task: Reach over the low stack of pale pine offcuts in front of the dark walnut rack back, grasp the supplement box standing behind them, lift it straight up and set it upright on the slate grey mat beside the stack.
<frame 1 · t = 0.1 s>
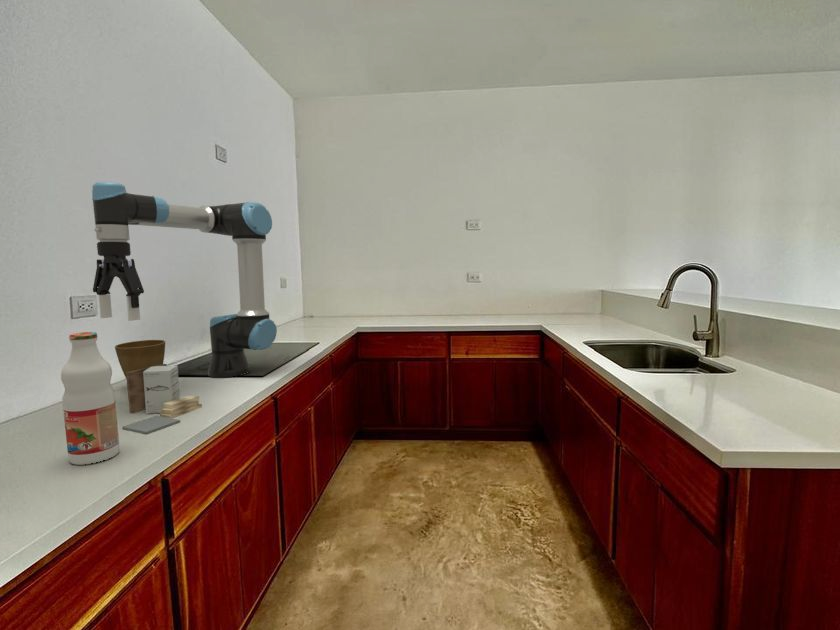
hand: (120, 319, 127), 28 cm above the worktop, tool pointing down, fingers open, 13 cm apart
supplement box: (163, 410, 136), on the worktop
fruit juice: (95, 457, 103), on the worktop
slate mat: (151, 425, 122), on the worktop
walnut rack: (150, 407, 138), on the worktop
pine offcuts: (181, 413, 133), on the worktop
plant pot: (144, 389, 159), on the worktop
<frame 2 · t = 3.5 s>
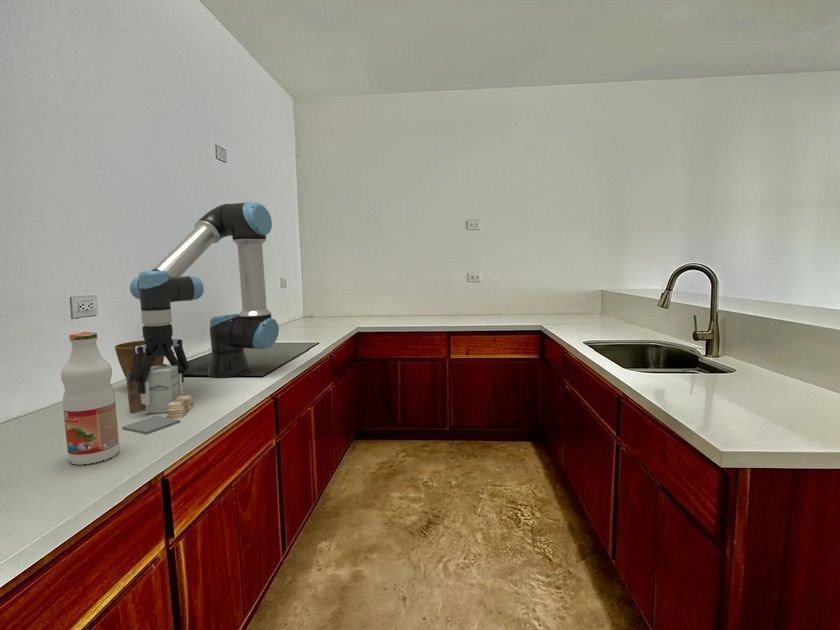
hand: (162, 399, 135), 3 cm above the worktop, tool pointing down, fingers closed on supplement box, 10 cm apart
supplement box: (163, 410, 136), on the worktop, touching gripper
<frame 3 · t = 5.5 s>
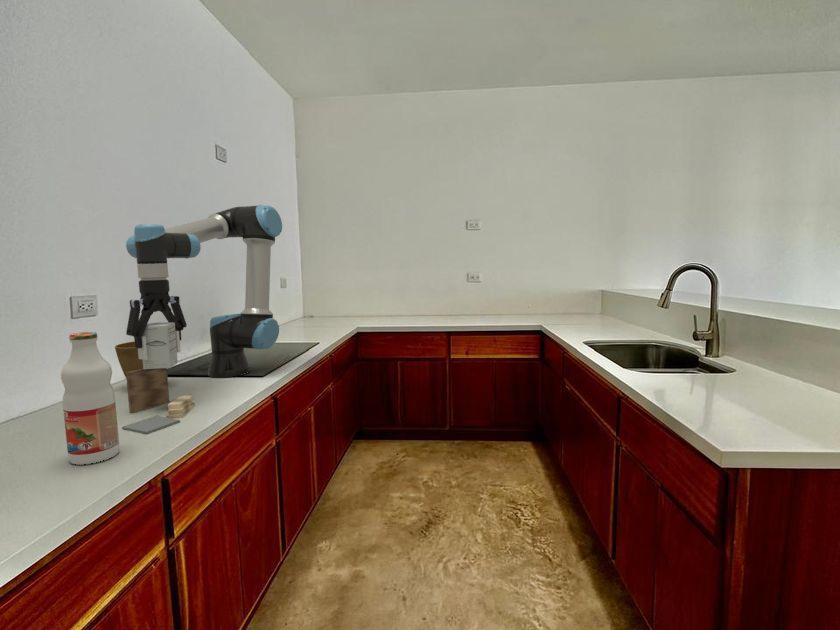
hand: (160, 355, 134), 16 cm above the worktop, tool pointing down, fingers closed on supplement box, 10 cm apart
supplement box: (161, 366, 135), point 13 cm above the worktop, touching gripper
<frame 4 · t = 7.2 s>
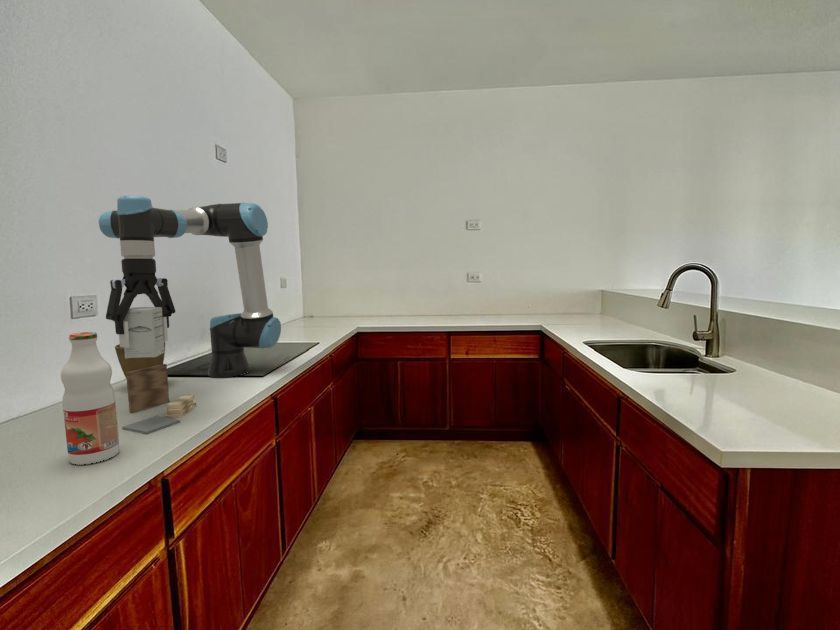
hand: (144, 343, 120), 22 cm above the worktop, tool pointing down, fingers closed on supplement box, 10 cm apart
supplement box: (145, 356, 121), point 19 cm above the worktop, touching gripper
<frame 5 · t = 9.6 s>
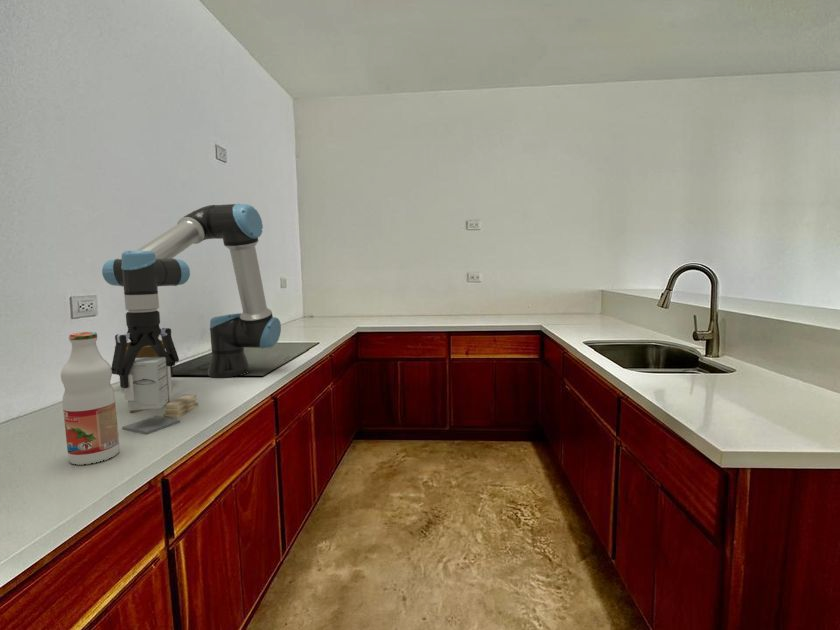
hand: (149, 394, 121), 9 cm above the worktop, tool pointing down, fingers closed on supplement box, 10 cm apart
supplement box: (149, 406, 122), point 5 cm above the worktop, touching gripper
everything else where it was.
when the fingers open (5 cm above the worktop, at t = 11.3 s): supplement box drops 1 cm, resting on slate mat.
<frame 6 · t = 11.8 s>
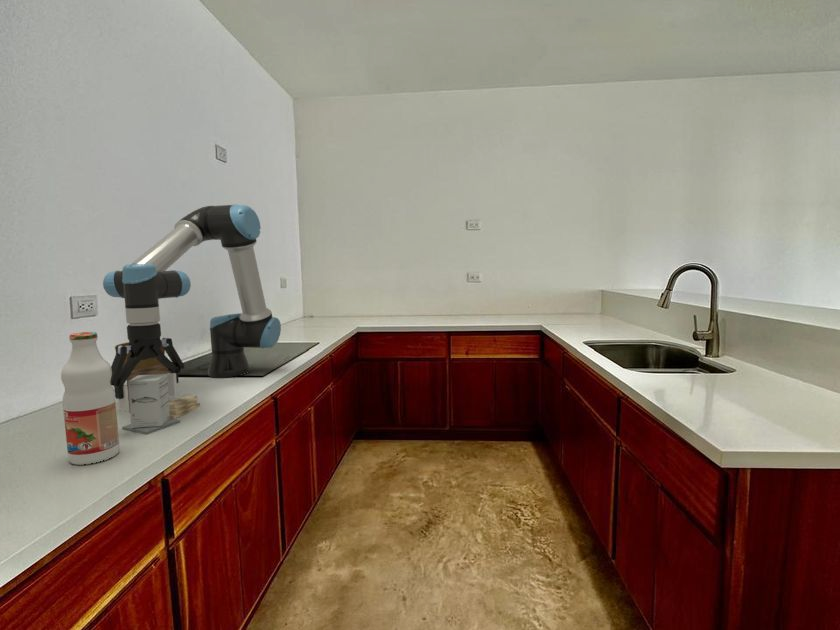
hand: (149, 402, 122), 6 cm above the worktop, tool pointing down, fingers open, 13 cm apart
supplement box: (151, 423, 122), resting on slate mat
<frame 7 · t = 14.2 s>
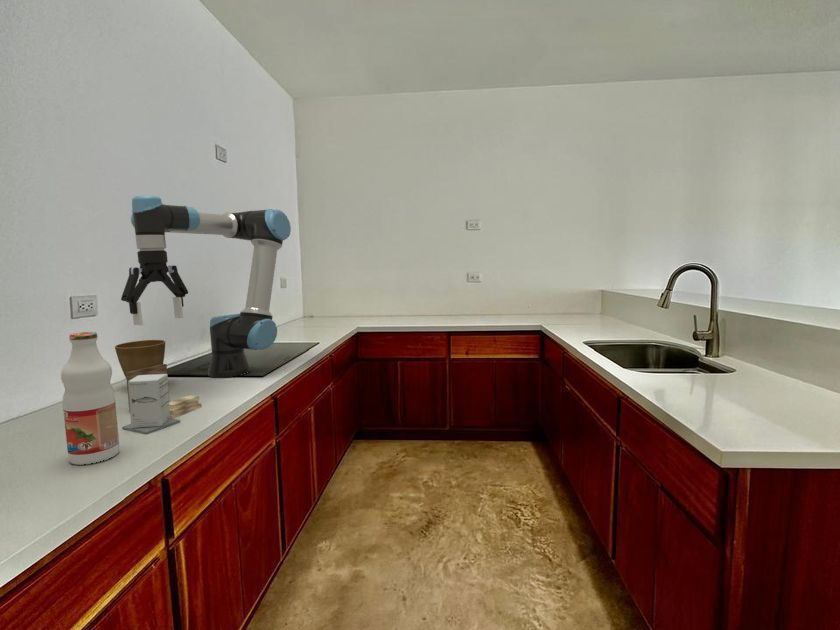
hand: (159, 321, 138), 26 cm above the worktop, tool pointing down, fingers open, 13 cm apart
nothing on the worktop moved.
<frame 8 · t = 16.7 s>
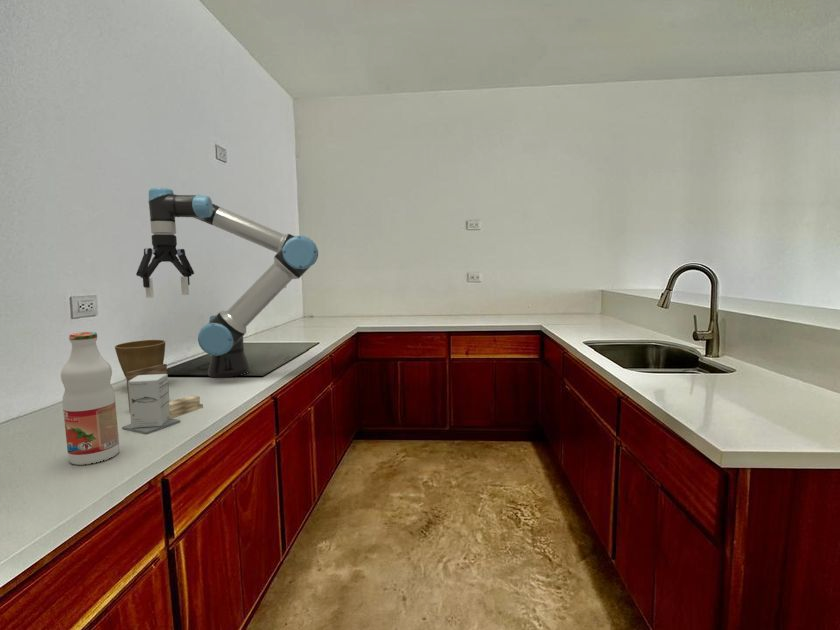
hand: (168, 296, 160), 32 cm above the worktop, tool pointing down, fingers open, 13 cm apart
nothing on the worktop moved.
at the end: supplement box inside the target area on the slate mat (0.1 cm from its centre), point 0.4 cm above the slate mat's base; supplement box tilted 0°; the gripper is holding nothing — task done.
